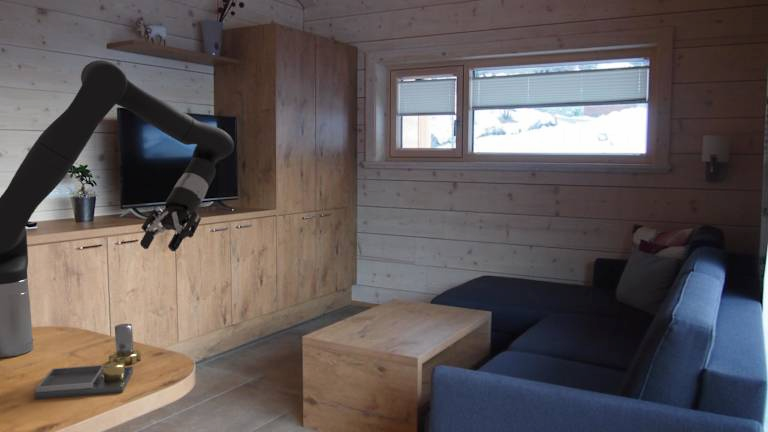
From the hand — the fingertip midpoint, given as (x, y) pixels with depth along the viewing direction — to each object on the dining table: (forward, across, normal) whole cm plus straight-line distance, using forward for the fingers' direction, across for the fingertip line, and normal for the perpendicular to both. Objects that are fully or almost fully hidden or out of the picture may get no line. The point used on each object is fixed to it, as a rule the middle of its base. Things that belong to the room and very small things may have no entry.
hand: (157, 248), depth 154 cm
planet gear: (+25, 0, +8) cm, 26 cm away
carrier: (+35, +4, -1) cm, 35 cm away
